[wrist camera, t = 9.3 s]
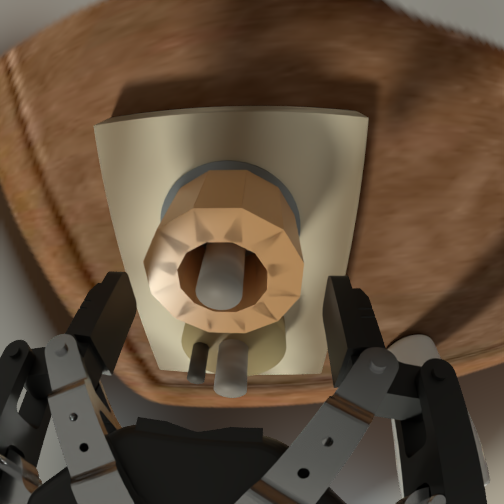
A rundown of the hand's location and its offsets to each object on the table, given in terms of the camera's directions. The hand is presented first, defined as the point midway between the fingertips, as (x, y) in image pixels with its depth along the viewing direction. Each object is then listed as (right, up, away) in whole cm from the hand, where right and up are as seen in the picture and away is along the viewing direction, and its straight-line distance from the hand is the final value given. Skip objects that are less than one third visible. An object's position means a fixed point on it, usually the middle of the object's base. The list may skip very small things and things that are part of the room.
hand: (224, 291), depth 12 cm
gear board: (0, +1, +8) cm, 8 cm away
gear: (0, +3, +4) cm, 5 cm away
